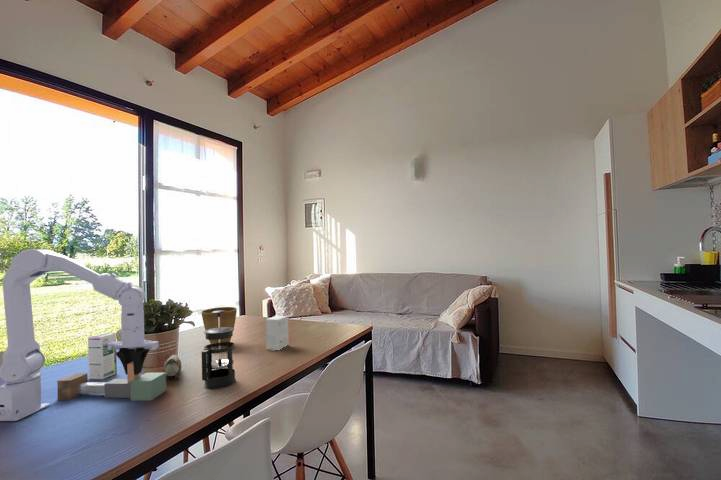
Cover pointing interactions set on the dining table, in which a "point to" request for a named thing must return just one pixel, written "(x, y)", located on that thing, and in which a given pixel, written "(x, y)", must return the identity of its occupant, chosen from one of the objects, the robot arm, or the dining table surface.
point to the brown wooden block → (70, 386)
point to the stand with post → (121, 385)
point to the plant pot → (225, 320)
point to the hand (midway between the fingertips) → (133, 373)
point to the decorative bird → (172, 366)
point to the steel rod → (91, 388)
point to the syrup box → (101, 356)
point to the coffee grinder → (221, 374)
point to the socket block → (148, 386)
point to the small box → (277, 332)
